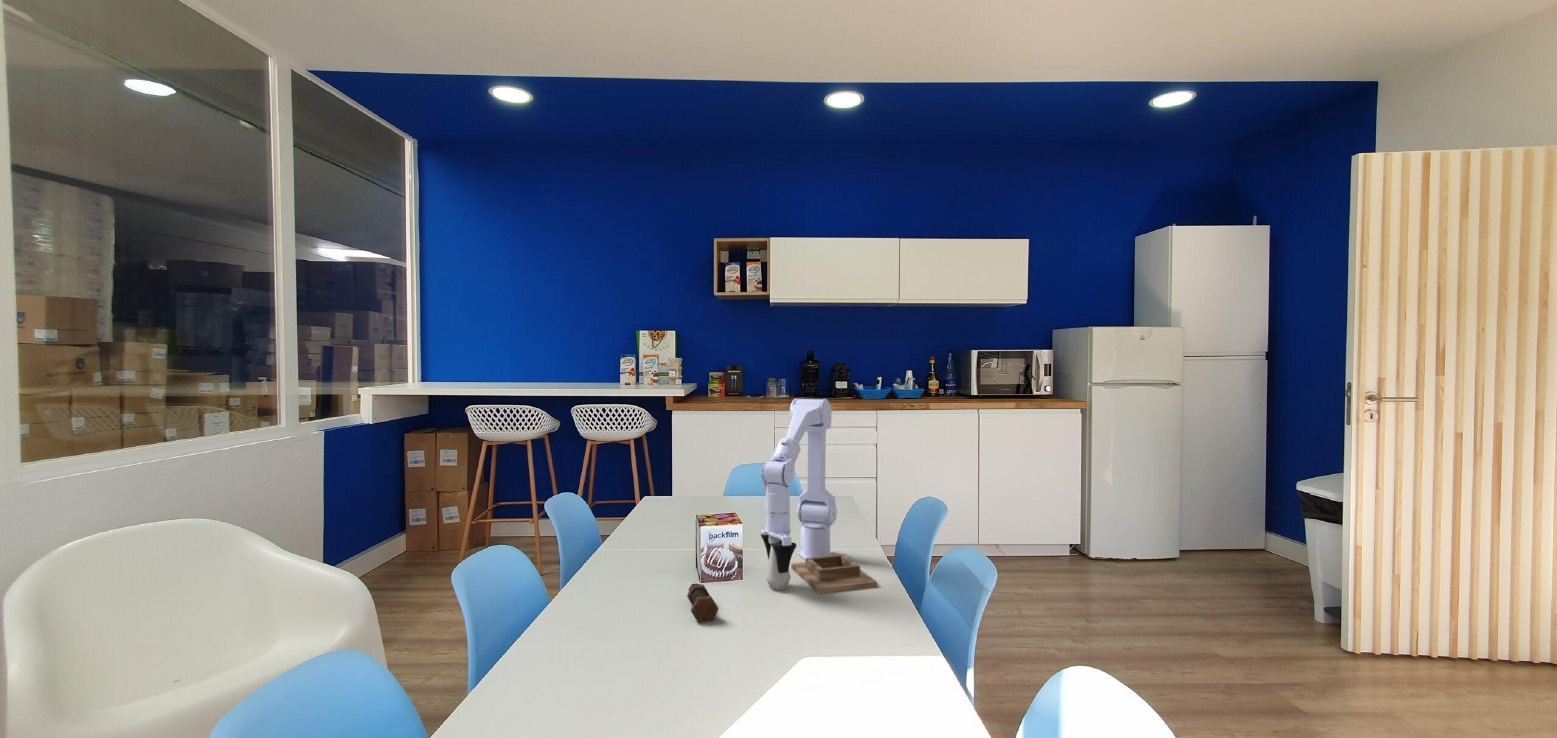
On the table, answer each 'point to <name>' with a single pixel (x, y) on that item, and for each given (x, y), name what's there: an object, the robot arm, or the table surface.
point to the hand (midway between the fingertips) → (778, 567)
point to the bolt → (702, 603)
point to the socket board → (833, 574)
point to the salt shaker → (776, 570)
